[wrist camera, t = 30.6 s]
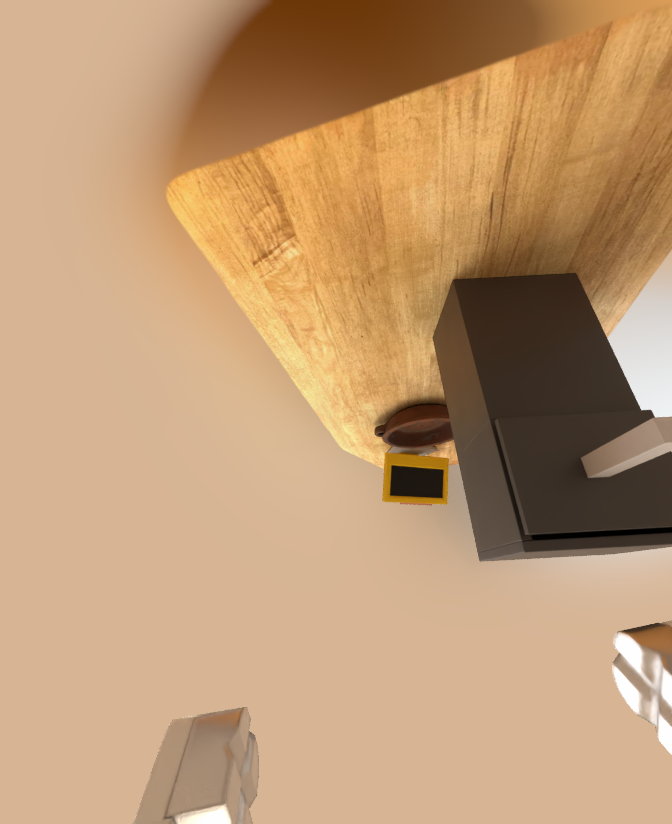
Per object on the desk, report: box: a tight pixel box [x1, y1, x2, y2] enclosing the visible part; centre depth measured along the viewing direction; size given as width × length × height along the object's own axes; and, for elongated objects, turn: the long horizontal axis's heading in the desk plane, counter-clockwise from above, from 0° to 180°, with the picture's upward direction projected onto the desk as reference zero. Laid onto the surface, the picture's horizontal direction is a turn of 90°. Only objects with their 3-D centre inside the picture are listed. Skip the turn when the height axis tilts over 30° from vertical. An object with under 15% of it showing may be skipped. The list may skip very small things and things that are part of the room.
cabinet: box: [433, 273, 672, 561], centre depth 45 cm, size 12×16×33 cm
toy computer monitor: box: [382, 446, 449, 505], centre depth 100 cm, size 20×8×16 cm, turn 68°
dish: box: [375, 405, 454, 449], centre depth 82 cm, size 18×22×5 cm
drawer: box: [495, 410, 672, 535], centre depth 35 cm, size 21×16×11 cm
